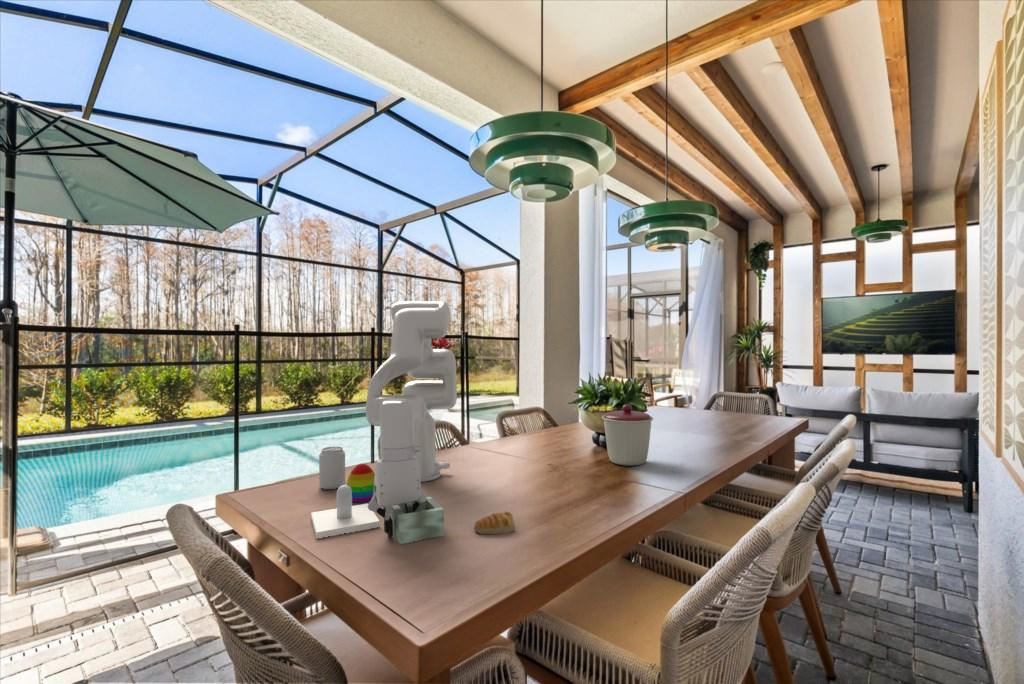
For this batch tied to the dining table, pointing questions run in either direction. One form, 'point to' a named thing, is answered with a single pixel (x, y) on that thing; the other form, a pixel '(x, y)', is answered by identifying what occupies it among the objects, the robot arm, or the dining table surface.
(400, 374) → the robot arm
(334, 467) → the can
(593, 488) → the dining table surface
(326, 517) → the post board
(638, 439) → the canister
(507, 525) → the pastry
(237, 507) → the dining table surface
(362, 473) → the decorative egg
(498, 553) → the dining table surface
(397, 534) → the collar
